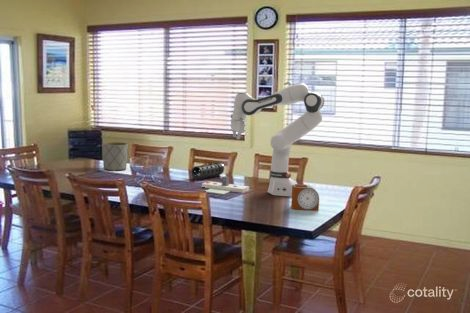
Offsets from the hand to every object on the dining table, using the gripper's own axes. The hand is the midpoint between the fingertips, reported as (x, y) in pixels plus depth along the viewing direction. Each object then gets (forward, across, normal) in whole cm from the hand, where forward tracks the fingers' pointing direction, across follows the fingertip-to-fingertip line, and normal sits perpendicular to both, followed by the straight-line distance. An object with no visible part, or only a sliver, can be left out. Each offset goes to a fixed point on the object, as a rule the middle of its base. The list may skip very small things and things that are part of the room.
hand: (236, 138), depth 350 cm
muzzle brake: (+36, +37, +6) cm, 52 cm away
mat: (+34, -13, +12) cm, 38 cm away
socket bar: (+34, -4, +4) cm, 34 cm away
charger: (+34, -4, +4) cm, 34 cm away
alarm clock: (+29, -62, -28) cm, 73 cm away
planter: (+44, +77, +70) cm, 112 cm away
